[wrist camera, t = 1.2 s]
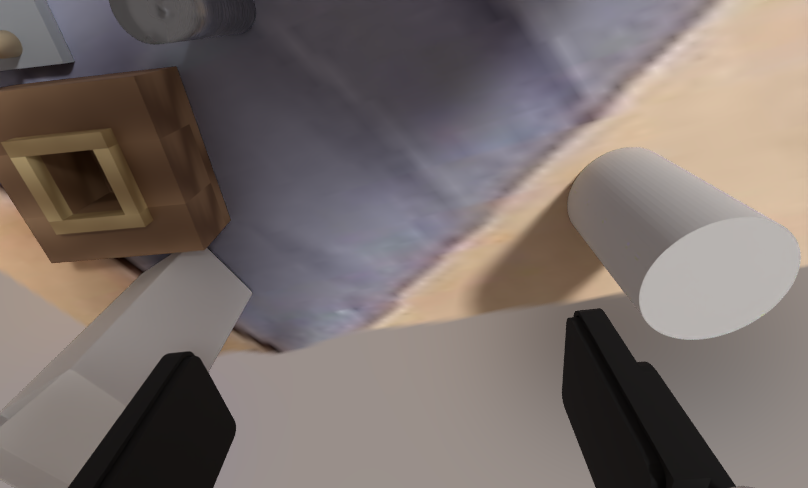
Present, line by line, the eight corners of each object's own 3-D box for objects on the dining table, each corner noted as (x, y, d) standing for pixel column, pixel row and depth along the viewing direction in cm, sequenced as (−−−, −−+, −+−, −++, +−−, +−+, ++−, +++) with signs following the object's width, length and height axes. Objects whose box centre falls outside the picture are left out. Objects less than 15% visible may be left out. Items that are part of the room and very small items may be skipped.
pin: (202, -17, 26) (95, -31, 17) (247, -23, 25) (163, -40, 17) (217, 36, 27) (127, 48, 18) (261, 31, 27) (189, 40, 18)
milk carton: (197, 235, 35) (5, 436, 18) (254, 292, 38) (133, 507, 21) (142, 272, 37) (-74, 482, 20) (201, 322, 40) (53, 542, 23)
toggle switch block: (15, 84, 29) (-72, 100, 24) (176, 66, 28) (123, 78, 23) (96, 231, 35) (41, 270, 30) (230, 220, 34) (198, 257, 29)
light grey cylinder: (571, 250, 35) (639, 351, 25) (562, 163, 31) (638, 239, 21) (671, 227, 34) (786, 323, 23) (674, 134, 30) (814, 199, 20)
